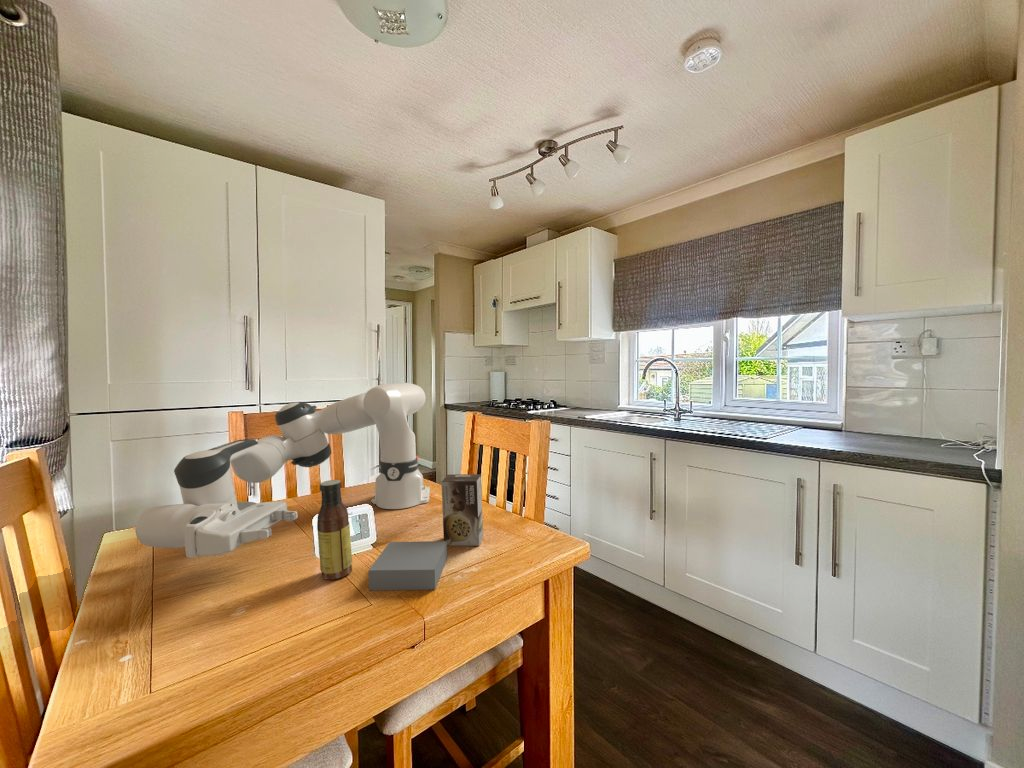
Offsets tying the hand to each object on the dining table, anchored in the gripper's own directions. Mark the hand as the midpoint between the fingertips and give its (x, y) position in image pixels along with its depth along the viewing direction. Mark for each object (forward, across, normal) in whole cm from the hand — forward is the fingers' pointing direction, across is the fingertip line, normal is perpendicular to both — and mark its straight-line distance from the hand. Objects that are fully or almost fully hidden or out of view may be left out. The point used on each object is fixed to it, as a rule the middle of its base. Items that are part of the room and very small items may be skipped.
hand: (283, 524), depth 85 cm
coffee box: (+36, -16, -11) cm, 41 cm away
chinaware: (-26, -18, -11) cm, 34 cm away
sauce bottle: (+11, 0, -11) cm, 15 cm away
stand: (+27, 0, -11) cm, 29 cm away
